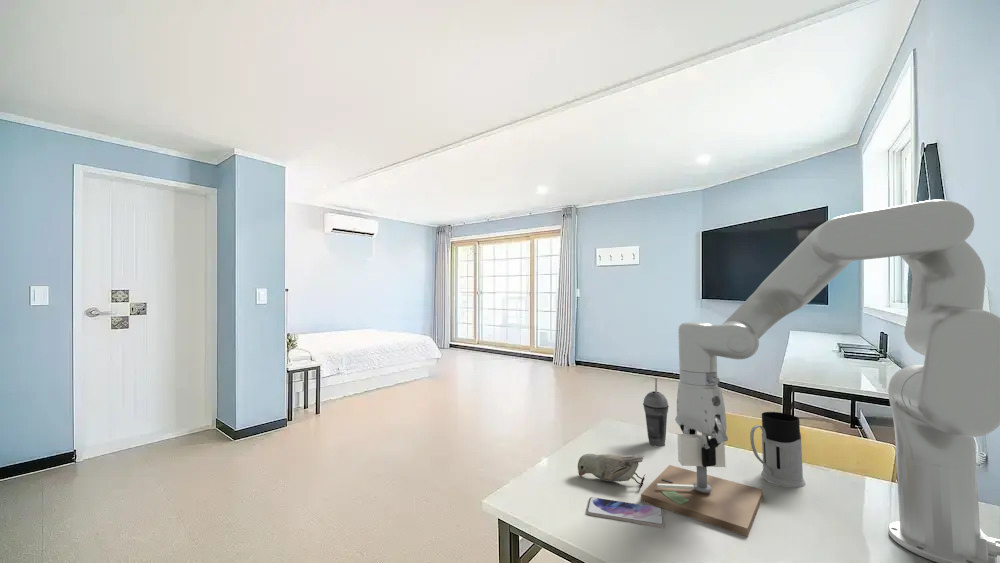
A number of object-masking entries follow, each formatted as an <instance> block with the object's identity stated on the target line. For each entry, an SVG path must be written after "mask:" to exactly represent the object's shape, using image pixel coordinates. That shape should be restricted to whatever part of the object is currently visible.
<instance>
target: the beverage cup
mask: <svg viewBox="0 0 1000 563" xmlns="http://www.w3.org/2000/svg"><path fill="white" fill-rule="evenodd" d="M657 378H658V377H655V380H654V390H653V391H650V392H648V393H647V394H646V395H645V396H644V398H643V404H642V405H643V410H644V412H645V422H646V423H645V424H646V431H647V438H648V443H649V445H650V446H654V447H658V448H659V447H660V448H662V447H665V445H666V438H667V419H668V412H669V407H670V406H669V403H668V400H667V398H666V396H665V395H664V394H663V393H661V392H659V391H658V379H657Z"/></svg>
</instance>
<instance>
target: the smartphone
mask: <svg viewBox="0 0 1000 563" xmlns="http://www.w3.org/2000/svg"><path fill="white" fill-rule="evenodd" d="M585 512H586V515H588V516H591V517H599V518H602V519H603V518H604V519H608V520H615V521H621V522H622V521H623V522H627V523H632V524H638V525H639V524H640V525H645V526H651V527H655V528H657V527H658V528H664V527H665V520H664V512H663V508H661V507H658V506H654V505H647V504H646V505H645V504H638V503H633V502H628V501H627V502H626V501H619V500H613V499H605V498H599V497H592V496H591V497H589V500H588V503H587V507H586V511H585Z"/></svg>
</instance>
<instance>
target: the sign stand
mask: <svg viewBox="0 0 1000 563" xmlns="http://www.w3.org/2000/svg"><path fill="white" fill-rule="evenodd" d="M708 438H709V440H710V439H711V436H708ZM725 442H726V441H725ZM725 442H722V443H721V444H719V445H718V447H717V448H716V465H715V466H709V467H710V468H712V467H713V468H715V467H716V468H726V448H725V444H726V443H725ZM702 447H704V445H703V439H702V434H697V435H693V434H683V433H678V434H677V458H678V459H677V461H678V462H679V464H680V465H681V466H682V467H683V466H685V467H696V472H697V482H696V483H694V484H693V485H680V484H657V487H658V488H675V489H695V490H696V491H698V492H702V493H710V492H711V491H712V490H711V486H710V485H708V484H707V475H708V474H707V473H708V471H707V468H709V467H704V466H702V450H701V449H702Z"/></svg>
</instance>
